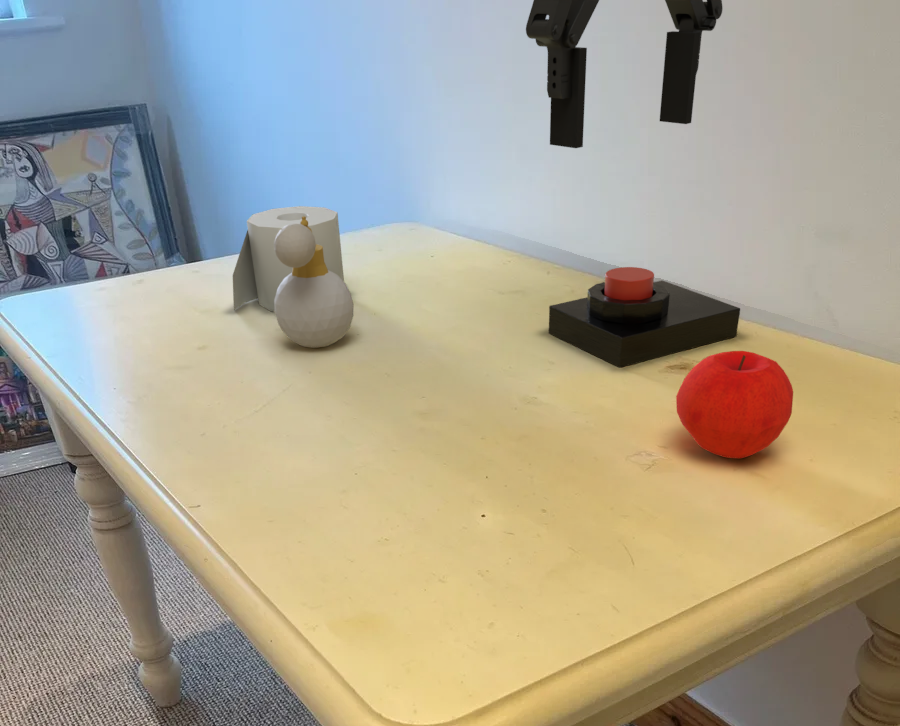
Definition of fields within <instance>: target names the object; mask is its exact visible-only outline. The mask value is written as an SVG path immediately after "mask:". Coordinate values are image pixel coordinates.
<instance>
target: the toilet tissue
mask: <svg viewBox="0 0 900 726" xmlns="http://www.w3.org/2000/svg"><path fill="white" fill-rule="evenodd" d="M303 216H305V217H306V220H307V221H308V227H309V228H311V230H312V234H313V235H314V238H315V242H316V244H317V245H321V246H322V247H323V255H324V262H325V265H326V267H327V269H328V270H329V271H331V272H333V273H335V274H337V275H338V276H339V277H340V278H341V279H342V280H343V281H344V282H345V277H344V265H343V253H342V246H341V245H342V244H341V234H340V225H339V213H338V211H335V210H333V209H329V208H327V207H324V206H323V207H321V206H306V205H297V206H287V207H278V208H270V209H267V210H263V211H260V212H256V213H253V214H251V216H250V217H249V218H248V219H247V220H246V228H247V230H246V233H245V237H244V240H243V242H242V246H241V249H240V252H239V255H238V258H237V262H236V263H235V267H234V270H233V273H232V294H233V295H232V298H233V311H236V310H237V309H239V308H240V307H241V306H243V305H244V304H246V303H249V302H251V301H254V300H257V301H258V305H259V306H261V307H262V308H264V309H266V310H268V311H269V312H274V300H275V296H276V293H277V289H278V287H279V286H280V284H281V283H282V281H283V280H284V278H285V277H287V276H288V275H289V274H290V273H292V269H293V267H288V266H286V265H285V264H283V263H282V262H281V261H280V260H279V259H278V257H277V256H276V253H275V249H274V241H275V238H276V235H277V234H278V232H279V231H280V230H281V229H282V228H283V227H285V226H287V225H289V224H300V223H301V221H302V217H303Z"/></svg>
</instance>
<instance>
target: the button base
mask: <svg viewBox="0 0 900 726" xmlns="http://www.w3.org/2000/svg"><path fill="white" fill-rule="evenodd" d="M604 290H605V281H604V282H603V281H602V282H598V283H595V284H594V285H592V286H591V287H589V288H588V289H587V297H583V298H577V299H573V300H568V301H565V302H561V303H555V304H552V305H551V304H550V305H549V309H548V310H549V311H548V334H550V335H552V336H553V337H555V338H558V339H559V340H562V341H564V342H565V343H568V344H570V345H572V346H575V347H576V348H577V349H580V350H583V351H585V352H586V353H589V354H591V355H593V356H595V357H597V358H599V359H601V360H603V361H605V362H606V363H607V362H608V363H610V364H612V365H614V366H616V367H618V368H624V367H627V366H630V365H634V364H637V363H642V362H646V361H650V360H652V359H658V358H660V357H664V356H668V355H672V354H675V353H679V352H683V351H686V350H691V349H694V348H698V347H702V346H705V345H709V344H713V343H716V342H720V341H724V340H727V339H731V338H736V337H737V335H738V327H739V320H740V315H741V308H740V307H738V306H735V305H732V304H730V303H727V302H724V301H721V300H718V299H715V298H713V297H710V296H708V295H704V294H701V293H699V292H696V291H693V290H690V289H688V288H685V287H683V286H679V285H676V284H673V283H671V282H668V281H666V280H658V281H654V283H653V294H652V297H650V298H646V299H642V300H620V299H612V298H610V297H607V296H605V295H604Z"/></svg>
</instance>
